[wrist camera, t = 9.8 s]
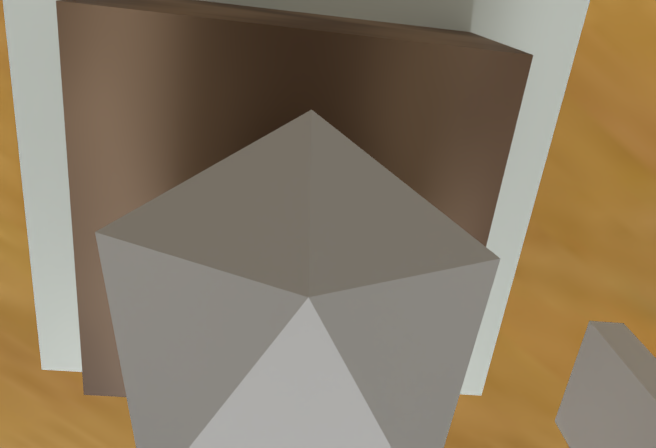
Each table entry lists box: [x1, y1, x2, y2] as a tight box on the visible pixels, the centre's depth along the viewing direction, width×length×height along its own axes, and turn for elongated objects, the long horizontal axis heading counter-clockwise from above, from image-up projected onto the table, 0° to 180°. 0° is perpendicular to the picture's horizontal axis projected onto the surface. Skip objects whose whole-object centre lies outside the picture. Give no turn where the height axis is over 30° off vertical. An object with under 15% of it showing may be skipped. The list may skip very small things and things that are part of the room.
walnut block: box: [56, 0, 533, 397], centre depth 20 cm, size 12×12×6 cm
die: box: [95, 110, 500, 448], centre depth 13 cm, size 8×9×10 cm
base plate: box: [3, 0, 590, 395], centre depth 23 cm, size 20×20×1 cm
